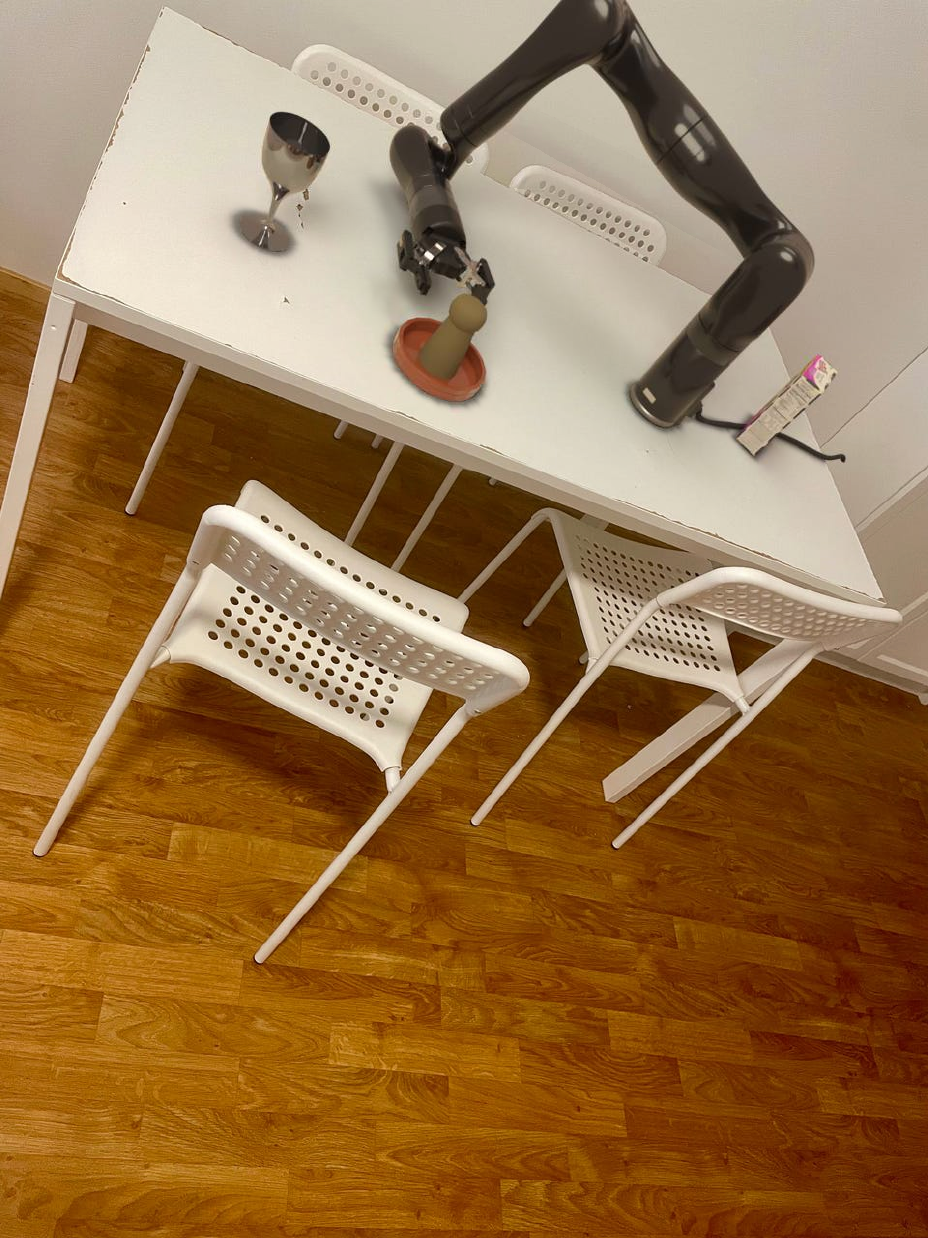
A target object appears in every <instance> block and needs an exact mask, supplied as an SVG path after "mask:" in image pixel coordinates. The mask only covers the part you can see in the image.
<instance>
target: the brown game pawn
mask: <svg viewBox="0 0 928 1238" xmlns="http://www.w3.org/2000/svg"><path fill="white" fill-rule="evenodd" d="M487 319H488V309H487V307H486V306H484V304H483V303H482V302H481V301H480V300H479V299H477V298H476V297H474V296H472V295H470V294H469V293H462V294H458V295H457V296H455V298H454V299H453V300H452V301H451V303H450V305H449V308H448V316H447V317H446V318H445V319H444V320H443V321H442V322H443V323H442V324H441V325H440V327H439V328H438V329H437V330H436V331H435V333H434V334H433V335H432V336H431V338H430V339H429V340H428V341H427V342H426V344H425V345H424V346H423V347H422V349H421V350H420V351H419V354H418V357H419V361H420V363H421V364H422V366H423V367H424V368H425V369H426V370H427V371H428V372H429V373H431V374H432V375H434V376H436V377H438V378H442V379H451V378H453V377H454V376H455V375H456V373H457V371H458V368H459V366H460V364H461V362H462V359H463V357H464V355H465V353H466V351H467V348H468V346H469V344H470V342H471V341H472V339H473V337H474V335H475V333H477V332H479V331H480V330H481V329H482V328H483V327H484V326H485V325H486V322H487ZM471 343H472V342H471Z"/></svg>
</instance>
